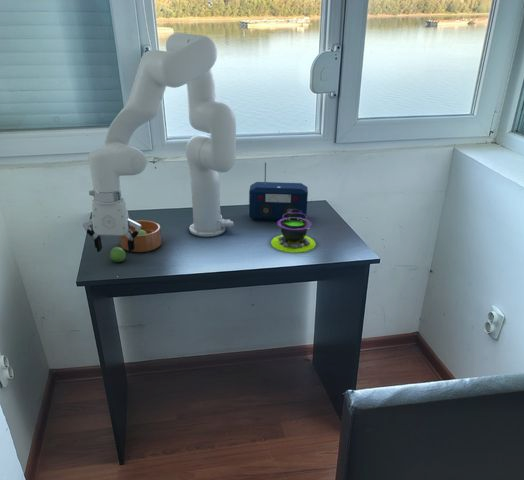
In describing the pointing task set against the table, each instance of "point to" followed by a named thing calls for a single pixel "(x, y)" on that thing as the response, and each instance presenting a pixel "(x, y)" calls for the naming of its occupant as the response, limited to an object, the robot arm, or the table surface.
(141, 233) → the pea ball
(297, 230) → the toy cauldron
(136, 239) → the bowl
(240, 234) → the table surface
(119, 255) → the pea ball
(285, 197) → the radio
